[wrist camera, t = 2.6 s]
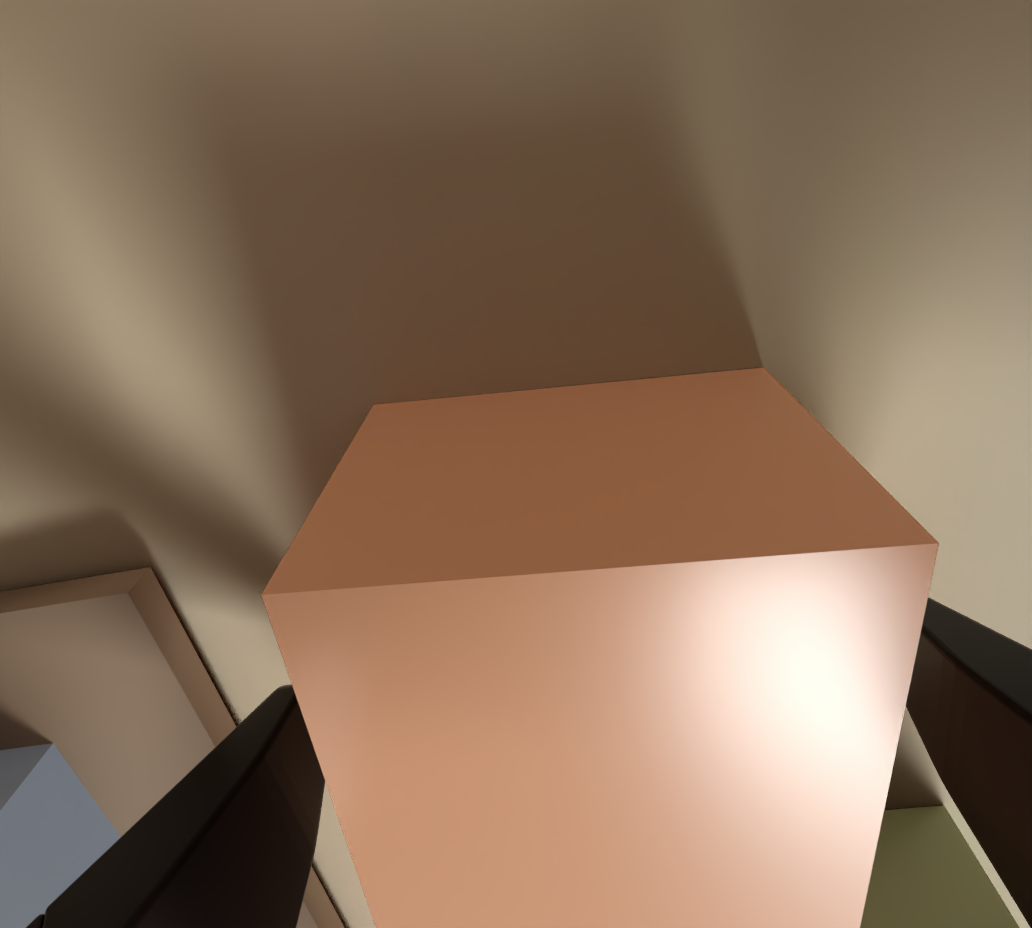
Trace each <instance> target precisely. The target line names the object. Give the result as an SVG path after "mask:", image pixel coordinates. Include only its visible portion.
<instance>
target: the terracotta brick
mask: <svg viewBox="0 0 1032 928" xmlns="http://www.w3.org/2000/svg"><path fill="white" fill-rule="evenodd" d="M938 546H939V543H938V542H937V541H936V540H935V539H934V538H933V537H932V536H931V535H930V534H929V533H928V532H927V531H926V530H925V529H924V528H923V527H922V526H921V525H920V524H919V523H918V522H917V521H916V520H915V519H914V518H913V517H912V516H911V515H910V514H909V513H908V512H907V511H906V510H905V509H904V508H903V507H902V506H901V505H900V504H899V503H898V502H897V501H896V500H895V499H894V498H893V497H892V496H891V495H890V494H889V493H888V492H887V491H886V490H885V489H884V488H883V487H882V486H881V485H880V483H879V482H878V481H877V480H876V479H875V478H874V477H873V476H872V475H871V474H870V473H869V472H868V471H867V470H866V469H865V468H864V467H863V466H862V465H861V464H860V463H859V462H858V461H857V460H856V459H855V458H854V457H853V456H852V455H851V454H850V453H849V452H848V451H847V450H846V449H845V448H844V447H843V446H842V445H841V444H840V443H839V442H838V441H837V440H836V439H835V438H834V437H833V436H832V435H831V434H830V433H829V432H828V431H827V430H826V429H825V428H824V427H823V426H822V425H821V424H820V423H819V422H818V421H817V420H816V419H815V418H814V417H813V416H812V415H811V414H810V413H809V412H808V411H807V410H806V409H805V408H804V407H803V406H802V405H801V404H800V403H799V402H798V401H797V400H796V399H795V398H794V397H793V396H792V395H791V394H790V393H789V392H788V391H787V390H786V389H785V388H784V387H783V386H782V385H781V384H780V383H779V382H778V381H777V380H776V379H775V378H774V377H773V376H772V375H771V374H770V373H769V372H768V371H767V370H766V369H765V368H764V367H763V368H753V369H742V370H732V371H721V372H711V373H700V374H690V375H679V376H669V377H658V378H648V379H637V380H627V381H616V382H606V383H595V384H585V385H574V386H564V387H554V388H543V389H533V390H522V391H512V392H501V393H491V394H480V395H470V396H459V397H449V398H438V399H428V400H417V401H407V402H396V403H386V404H375V405H373V406H372V408H371V410H370V411H369V413H368V415H367V417H366V418H365V420H364V422H363V423H362V425H361V427H360V428H359V430H358V432H357V433H356V435H355V437H354V439H353V440H352V442H351V444H350V445H349V447H348V449H347V450H346V452H345V454H344V455H343V457H342V459H341V461H340V462H339V464H338V466H337V467H336V469H335V471H334V472H333V474H332V476H331V477H330V479H329V481H328V483H327V484H326V486H325V488H324V489H323V491H322V493H321V494H320V496H319V498H318V499H317V501H316V503H315V505H314V506H313V508H312V510H311V511H310V513H309V515H308V516H307V518H306V520H305V521H304V523H303V525H302V527H301V528H300V530H299V532H298V533H297V535H296V537H295V538H294V540H293V542H292V543H291V545H290V547H289V549H288V550H287V552H286V554H285V555H284V557H283V559H282V560H281V562H280V564H279V565H278V567H277V569H276V571H275V572H274V574H273V576H272V577H271V579H270V581H269V582H268V584H267V586H266V587H265V589H264V591H263V593H262V594H261V596H262V599H263V602H264V605H265V608H266V611H267V614H268V616H269V619H270V622H271V625H272V628H273V631H274V634H275V637H276V640H277V643H278V645H279V648H280V651H281V654H282V657H283V660H284V663H285V666H286V669H287V671H288V674H289V677H290V680H291V683H292V686H293V689H294V692H295V695H296V698H297V700H298V703H299V706H300V709H301V712H302V715H303V718H304V721H305V724H306V727H307V729H308V732H309V735H310V738H311V741H312V744H313V747H314V750H315V753H316V755H317V758H318V761H319V764H320V767H321V770H322V773H323V776H324V779H325V782H326V784H327V787H328V790H329V793H330V796H331V799H332V802H333V805H334V808H335V811H336V813H337V816H338V819H339V822H340V825H341V828H342V831H343V834H344V837H345V840H346V842H347V845H348V848H349V851H350V854H351V857H352V860H353V863H354V866H355V868H356V871H357V874H358V877H359V880H360V883H361V886H362V889H363V892H364V895H365V897H366V900H367V903H368V906H369V909H370V912H371V915H372V918H373V921H374V924H375V926H376V928H860V925H861V920H862V915H863V910H864V906H865V901H866V896H867V891H868V886H869V881H870V876H871V872H872V867H873V862H874V857H875V852H876V847H877V842H878V838H879V833H880V828H881V823H882V818H883V813H884V808H885V804H886V799H887V794H888V789H889V784H890V779H891V774H892V770H893V765H894V760H895V755H896V750H897V745H898V740H899V735H900V731H901V726H902V721H903V716H904V711H905V706H906V701H907V697H908V692H909V687H910V682H911V677H912V672H913V667H914V663H915V658H916V653H917V648H918V643H919V638H920V633H921V629H922V624H923V619H924V614H925V609H926V604H927V599H928V595H929V590H930V585H931V580H932V575H933V570H934V565H935V560H936V556H937V551H938Z"/></svg>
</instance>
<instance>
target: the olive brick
mask: <svg viewBox="0 0 1032 928" xmlns="http://www.w3.org/2000/svg"><path fill="white" fill-rule="evenodd" d="M860 928H1019V926H1018V925H1017V923H1016V921H1015V920H1014V918H1013V916H1012V915H1011V913H1010V912H1009V910H1008V908H1007V907H1006V905H1005V903H1004V902H1003V900H1002V899H1001V897H1000V895H999V894H998V892H997V891H996V889H995V887H994V886H993V884H992V882H991V881H990V879H989V878H988V876H987V874H986V873H985V871H984V869H983V868H982V866H981V865H980V863H979V861H978V860H977V858H976V856H975V855H974V853H973V852H972V850H971V848H970V847H969V845H968V844H967V842H966V840H965V839H964V837H963V835H962V834H961V832H960V831H959V829H958V827H957V826H956V824H955V822H954V821H953V819H952V818H951V816H950V814H949V813H948V811H947V809H946V808H945V806H932V807H919V808H906V809H893V810H884V813H883V818H882V823H881V828H880V833H879V838H878V842H877V847H876V852H875V857H874V862H873V867H872V872H871V876H870V881H869V886H868V891H867V896H866V901H865V906H864V910H863V915H862V920H861V925H860Z"/></svg>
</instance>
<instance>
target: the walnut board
mask: <svg viewBox="0 0 1032 928" xmlns="http://www.w3.org/2000/svg"><path fill="white" fill-rule="evenodd" d="M235 728H236V725H235V723H234V722H233V720H232V718H231V716H230V714H229V712H228V710H227V709H226V707H225V705H224V703H223V701H222V699H221V697H220V696H219V694H218V692H217V690H216V688H215V686H214V684H213V683H212V681H211V679H210V677H209V675H208V673H207V671H206V670H205V668H204V666H203V664H202V662H201V660H200V658H199V657H198V655H197V653H196V651H195V649H194V647H193V645H192V644H191V642H190V640H189V638H188V636H187V634H186V632H185V631H184V629H183V627H182V625H181V623H180V621H179V619H178V618H177V616H176V614H175V612H174V610H173V608H172V606H171V605H170V603H169V601H168V599H167V597H166V595H165V593H164V592H163V590H162V588H161V586H160V584H159V582H158V580H157V579H156V577H155V575H154V573H153V571H152V569H151V567H147V568H141V569H135V570H129V571H123V572H117V573H111V574H105V575H99V576H93V577H87V578H81V579H75V580H69V581H63V582H57V583H51V584H45V585H38V586H32V587H26V588H20V589H14V590H8V591H2V592H0V750H7V749H14V748H22V747H29V746H36V745H43V744H51V743H53V744H54V745H55V746H56V748H57V749H58V750H59V752H60V753H61V755H62V756H63V757H64V759H65V760H66V762H67V763H68V764H69V766H70V767H71V769H72V770H73V771H74V773H75V774H76V775H77V777H78V778H79V780H80V781H81V782H82V784H83V785H84V787H85V788H86V789H87V791H88V792H89V794H90V795H91V796H92V798H93V799H94V800H95V802H96V803H97V805H98V806H99V807H100V809H101V810H102V812H103V813H104V814H105V816H106V817H107V819H108V820H109V821H110V823H111V824H112V826H113V827H114V828H115V830H116V831H117V832H118V834H119V835H120V837H121V836H123V835H124V834H125V833H126V832H127V831H128V830H129V829H130V828H131V827H132V826H133V825H134V824H135V823H136V822H137V821H138V820H139V819H140V818H141V817H143V816H144V815H145V814H146V813H147V812H148V811H149V810H150V809H151V808H152V807H153V806H154V805H155V804H156V803H157V802H158V801H159V800H160V799H161V798H162V797H164V796H165V795H166V794H167V793H168V792H169V791H170V790H171V789H172V788H173V787H174V786H175V785H176V784H177V783H178V782H179V781H180V780H181V779H182V778H183V777H185V776H186V775H187V774H188V773H189V772H190V771H191V770H192V769H193V768H194V767H195V766H196V765H197V764H198V763H199V762H200V761H201V760H202V759H203V758H205V757H206V756H207V755H208V754H209V753H210V752H211V751H212V750H213V749H214V748H215V747H216V746H217V745H218V744H219V743H220V742H221V741H222V740H223V739H224V738H226V737H227V736H228V735H229V734H230V733H231V732H232V731H233V730H234V729H235ZM296 928H344V926H343V924H342V922H341V920H340V918H339V916H338V915H337V913H336V911H335V909H334V907H333V905H332V903H331V902H330V900H329V898H328V896H327V894H326V892H325V890H324V889H323V887H322V885H321V883H320V881H319V879H318V877H317V876H316V874H315V872H314V870H313V868H312V866H311V870H310V874H309V878H308V883H307V887H306V891H305V895H304V899H303V903H302V907H301V911H300V915H299V919H298V923H297V927H296Z"/></svg>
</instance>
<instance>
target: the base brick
mask: <svg viewBox="0 0 1032 928" xmlns="http://www.w3.org/2000/svg"><path fill="white" fill-rule="evenodd" d="M119 838H120V835H119V834H118V832H117V831H116V830H115V828H114V827H113V826H112V824H111V823H110V821H109V820H108V819H107V817H106V816H105V814H104V813H103V812H102V810H101V809H100V807H99V806H98V805H97V803H96V802H95V800H94V799H93V798H92V796H91V795H90V794H89V792H88V791H87V789H86V788H85V787H84V785H83V784H82V782H81V781H80V780H79V778H78V777H77V775H76V774H75V773H74V771H73V770H72V769H71V767H70V766H69V764H68V763H67V762H66V760H65V759H64V757H63V756H62V755H61V753H60V752H59V750H58V749H57V748H56V746H55V745H54V744H53V743H51V744H43V745H36V746H29V747H22V748H14V749H7V750H0V928H26V927H27V926H28V925H29V924H30V923H31V922H32V921H33V920H34V919H35V918H36V917H37V916H38V915H40V914H45V911H46V908H47V907H48V906H49V905H50V904H51V903H52V902H53V901H54V900H55V899H56V898H57V897H58V896H59V895H60V894H62V893H63V892H64V891H65V890H66V889H67V888H68V887H69V886H70V885H71V884H72V883H73V882H74V881H75V880H76V879H77V878H78V877H79V876H80V875H82V874H83V873H84V872H85V871H86V870H87V869H88V868H89V867H90V866H91V865H92V864H93V863H94V862H95V861H96V860H97V859H98V858H99V857H100V856H102V855H103V854H104V853H105V852H106V851H107V850H108V849H109V848H110V847H111V846H112V845H113V844H114V843H115V842H116V841H117V840H118V839H119Z"/></svg>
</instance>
